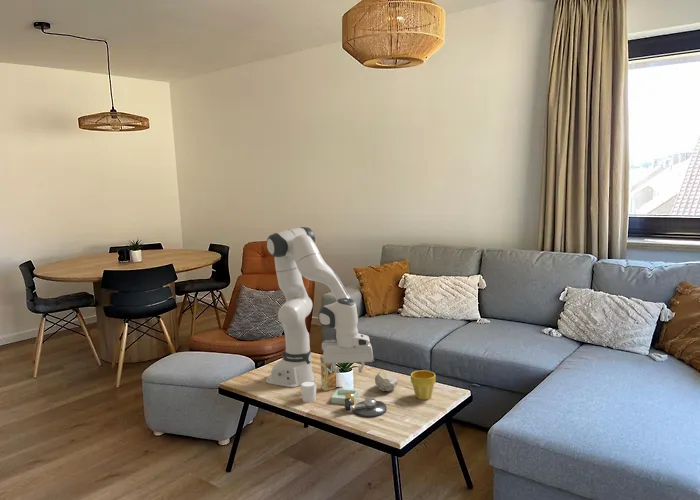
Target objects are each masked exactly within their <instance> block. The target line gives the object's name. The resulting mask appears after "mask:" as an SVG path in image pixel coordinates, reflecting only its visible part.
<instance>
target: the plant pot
mask: <svg viewBox="0 0 700 500" xmlns="http://www.w3.org/2000/svg"><path fill="white" fill-rule="evenodd" d="M436 378H437V377H436V373H435V372H433V371H430V370H423V369H422V370H414V371H412V373H410V383H411V384H412V388H413V391H414V395H415V398H416V399H419V400H423V401H424V400H429V399H431V398H432V395H433V391H434V390H433V389H434V385H435V384H436Z"/></svg>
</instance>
